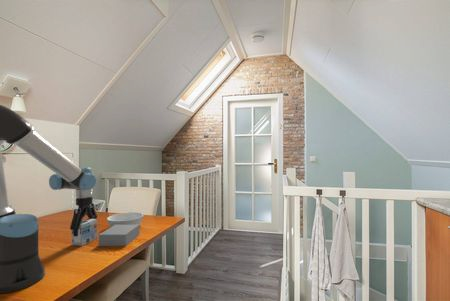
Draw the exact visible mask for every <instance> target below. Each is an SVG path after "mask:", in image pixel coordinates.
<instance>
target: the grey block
mask: <svg viewBox="0 0 450 301" xmlns="http://www.w3.org/2000/svg"><path fill="white" fill-rule="evenodd" d="M140 232H141V231H140V224H139V225H114V226H112V227H111V226H110V227H109V228H107V229H105V230H104V231H102V232H101V233H99V234H98V246H99V247H127V246H128V245H129V244H130V243H131V242H133V240H135V239H136V238H137V237H138V236H140Z"/></svg>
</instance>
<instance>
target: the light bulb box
mask: <svg viewBox="0 0 450 301" xmlns="http://www.w3.org/2000/svg"><path fill="white" fill-rule="evenodd" d="M79 229H80V242H78V243H74V231H73V230H71V246H80V247H83V246H85V245H86V244H90V243H91V242H94V241H96V240H98V218H97V219H89V218H85V219H82V222H81V224H80V227H79Z"/></svg>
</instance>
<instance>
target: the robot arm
mask: <svg viewBox="0 0 450 301" xmlns="http://www.w3.org/2000/svg"><path fill="white" fill-rule="evenodd" d="M5 142H6V143H7V144H9V145H16V146H17V147H19V148H20V149H21V150H22V151H24V152H26V153H27V155H29V156H31V157H32V158H34V159H35V160H37V161H38V162H40V163H41V164H42V165H43V166H45V167H47V169H49V170H51V171H52V172H53V173H54V174H52V175H50V177H49V179H48V185H49V188H51V189H52V190H54V191H58V190H59V191H60V190H66V189H67V190H75V197H76V198H75V206H78V208H74V210H73V215H72V219H71V224H70V226H69V230H70V231H72V230H73V231H74V243H78V242H80V229H79V227H80V224H81V222H82V220H84V219H83V218H84V217H85V216H87V219H97V220H98V215H97V212H96V209H95V203H94V200H93V188H94V187H95V186H96V185H97V181H98V180H97V177H96V175H94V174H93V170H92V167H88V166H87V167H80V166H78V165H77V164H75V163H74V162H73V160H71V159H69V158H68V157H67V156H66V155H64V154H63V153H62V152H61V151H60V150H58V149H57V148H56V147H55V146H53V145H52V144H51V143H50V142H49V141H47V140H46V138H43V137H42V136H41V135H40V133H39V134H38V133H37V131H36V130H34V126H33V124H31V123H30V122H29V121H28V120H26V119H25V118H24V117H22V116H21V115H20V114H18V113H16V112H15V111H14V110H12V109H11V108H9V107H7V106H4V105H2V104H0V294H1V295H2V294H7V293H12V292H16V291H19V290H22V289H26V288H28V287H30V286H33V285H34V284H36V283H39V282H40V281H41V280H43V278H44V277H45V274H46V270H45V267H44V264H43V263H42V260H41V258H40V255H39V228H40V227H39V220H38V218H37V216H36V215H34V214H31V213H24V214H23V213H16V210H15V208H14V207H12V206H10V205H9V198H8V190H7V184H6V177H5V176H6V175H5V170H4V161H3V154H2V145H3V144H4V143H5Z"/></svg>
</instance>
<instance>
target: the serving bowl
mask: <svg viewBox="0 0 450 301" xmlns="http://www.w3.org/2000/svg"><path fill="white" fill-rule="evenodd" d="M143 218H144V214H143V213H142V212H135V211H128V212H121V213H116V214H112V215H110V216H108V217H107V218H106V221H107V224H108V226H109V227H110V228H111V227H112V226H114V225H139V226H140V224H141V223H142V222H143Z"/></svg>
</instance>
